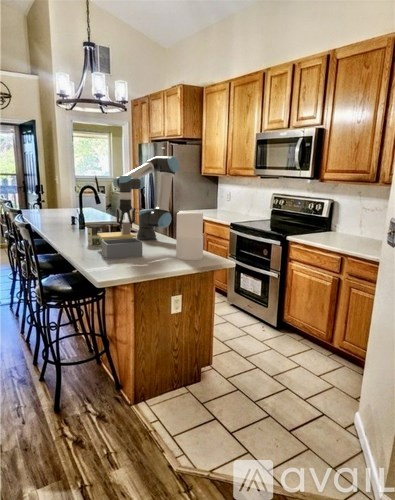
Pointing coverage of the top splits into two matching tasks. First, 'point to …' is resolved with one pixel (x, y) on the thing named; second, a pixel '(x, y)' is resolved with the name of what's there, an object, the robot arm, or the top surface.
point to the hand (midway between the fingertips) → (125, 233)
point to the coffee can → (94, 235)
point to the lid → (118, 233)
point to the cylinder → (189, 235)
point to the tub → (121, 248)
